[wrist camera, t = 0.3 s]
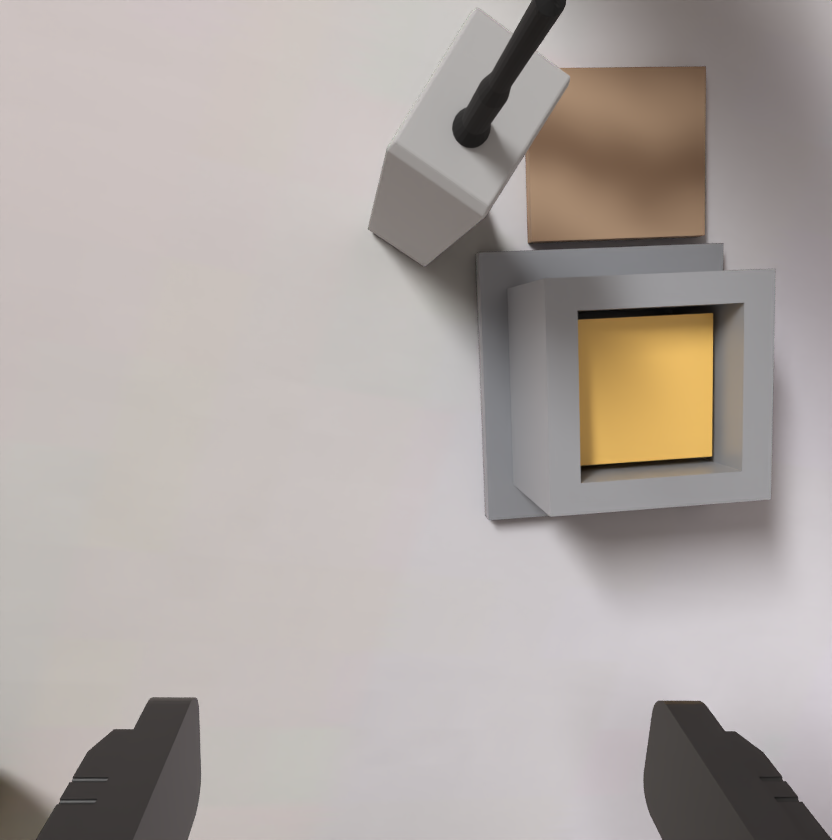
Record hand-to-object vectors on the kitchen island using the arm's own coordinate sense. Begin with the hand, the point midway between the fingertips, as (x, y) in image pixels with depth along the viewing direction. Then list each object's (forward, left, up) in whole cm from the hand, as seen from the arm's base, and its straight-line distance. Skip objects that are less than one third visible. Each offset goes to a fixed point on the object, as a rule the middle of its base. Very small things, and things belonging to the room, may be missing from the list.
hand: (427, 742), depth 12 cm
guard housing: (-4, +14, -27) cm, 31 cm away
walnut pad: (-16, +15, -27) cm, 35 cm away
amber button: (-4, +14, -24) cm, 28 cm away
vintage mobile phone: (-14, +4, -28) cm, 31 cm away
